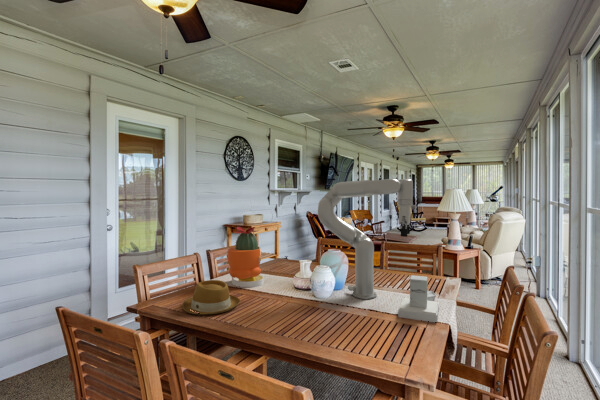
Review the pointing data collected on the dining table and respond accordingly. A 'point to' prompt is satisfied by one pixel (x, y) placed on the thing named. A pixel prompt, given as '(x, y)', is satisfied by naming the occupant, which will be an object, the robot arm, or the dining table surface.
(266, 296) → the dining table surface
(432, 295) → the ramekin
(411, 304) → the supplement box
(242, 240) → the potted cactus
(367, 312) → the dining table surface
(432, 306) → the stand
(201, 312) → the fedora
